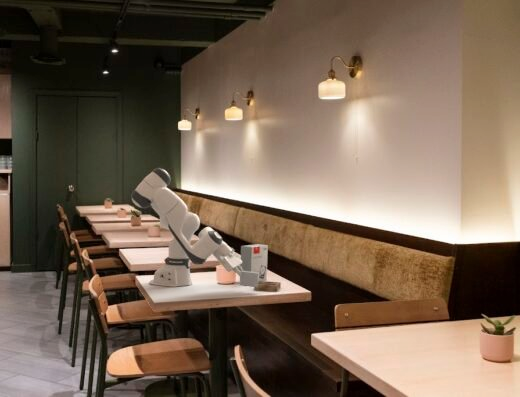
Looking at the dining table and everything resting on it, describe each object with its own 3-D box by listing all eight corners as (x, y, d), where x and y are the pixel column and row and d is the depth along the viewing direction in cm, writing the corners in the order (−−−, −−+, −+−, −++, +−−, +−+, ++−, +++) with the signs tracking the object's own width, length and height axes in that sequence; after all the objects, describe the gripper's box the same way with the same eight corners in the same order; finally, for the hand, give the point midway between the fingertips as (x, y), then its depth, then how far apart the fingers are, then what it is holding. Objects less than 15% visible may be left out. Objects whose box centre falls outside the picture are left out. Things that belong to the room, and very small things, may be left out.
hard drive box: (250, 283, 347) (251, 247, 346) (239, 282, 352) (240, 245, 351) (267, 280, 360) (268, 244, 359) (256, 278, 364) (257, 243, 363)
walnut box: (254, 289, 330) (254, 284, 330) (258, 286, 340) (258, 280, 340) (277, 291, 328) (277, 285, 327) (280, 287, 337) (280, 282, 337)
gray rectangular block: (259, 272, 322) (242, 270, 324) (258, 273, 319) (240, 271, 321) (258, 286, 323) (240, 284, 324) (256, 287, 320) (239, 285, 321)
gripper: (222, 252, 313) (241, 273, 312) (233, 247, 333) (251, 267, 332) (213, 260, 315) (232, 281, 313) (224, 255, 335) (242, 275, 333)
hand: (242, 274), depth 322 cm, fingers closed on gray rectangular block, 3 cm apart
